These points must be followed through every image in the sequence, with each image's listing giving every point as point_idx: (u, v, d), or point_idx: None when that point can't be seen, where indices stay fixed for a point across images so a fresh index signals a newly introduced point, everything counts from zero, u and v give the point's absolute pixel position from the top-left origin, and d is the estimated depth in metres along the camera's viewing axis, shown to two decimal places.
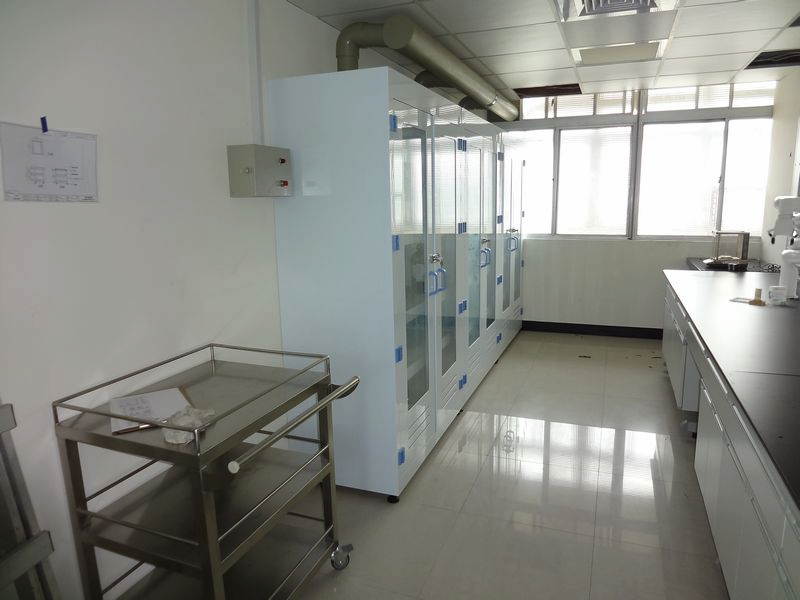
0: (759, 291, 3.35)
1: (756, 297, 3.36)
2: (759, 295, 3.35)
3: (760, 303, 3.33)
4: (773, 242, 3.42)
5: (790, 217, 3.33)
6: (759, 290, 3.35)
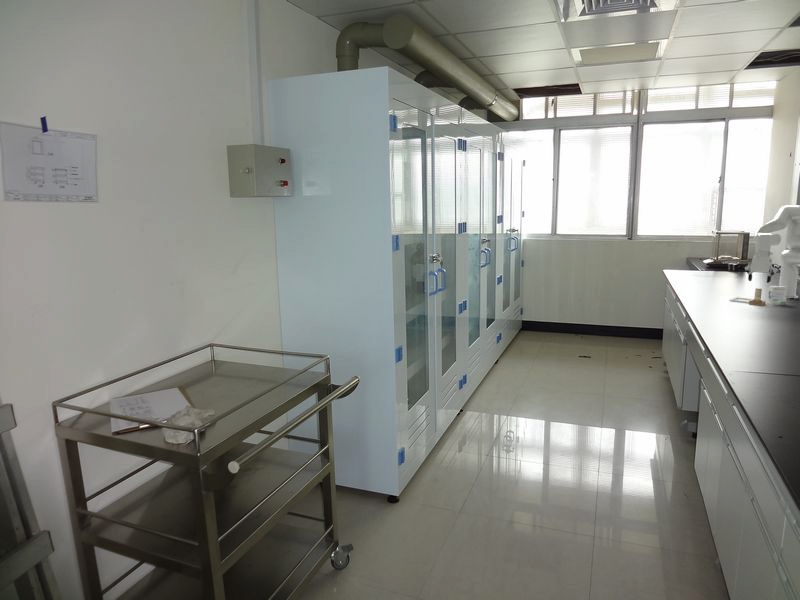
0: (759, 291, 3.35)
1: (756, 297, 3.36)
2: (759, 295, 3.35)
3: (760, 303, 3.33)
4: (750, 279, 3.37)
5: (767, 254, 3.29)
6: (759, 290, 3.35)
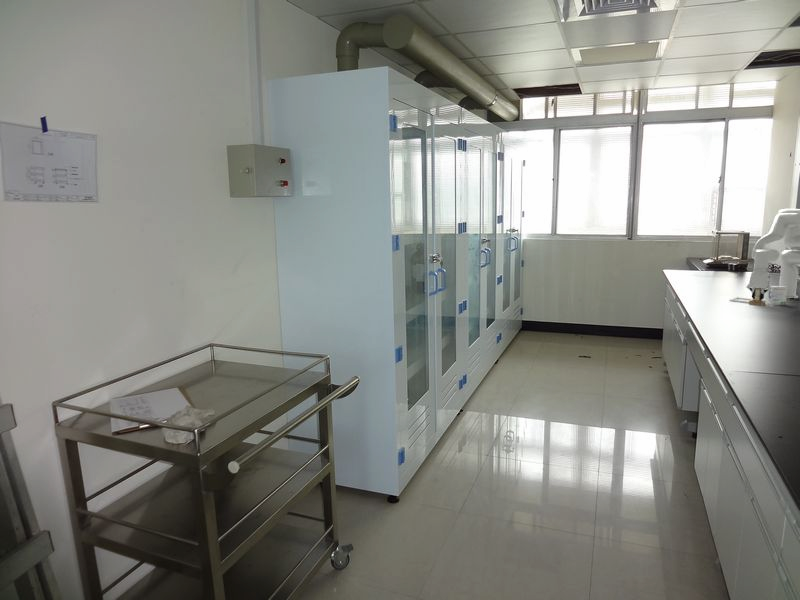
0: (759, 291, 3.35)
1: (756, 297, 3.36)
2: (759, 295, 3.35)
3: (760, 303, 3.33)
4: None
5: (765, 271, 3.30)
6: (759, 290, 3.35)
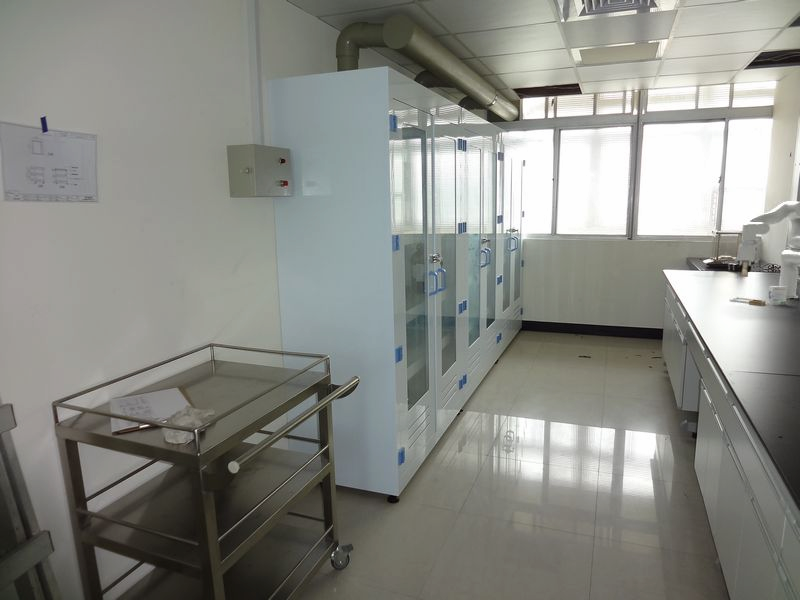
0: (746, 263, 3.43)
1: (744, 269, 3.45)
2: (746, 267, 3.44)
3: (760, 303, 3.33)
4: (741, 269, 3.46)
5: (752, 243, 3.39)
6: (746, 262, 3.43)
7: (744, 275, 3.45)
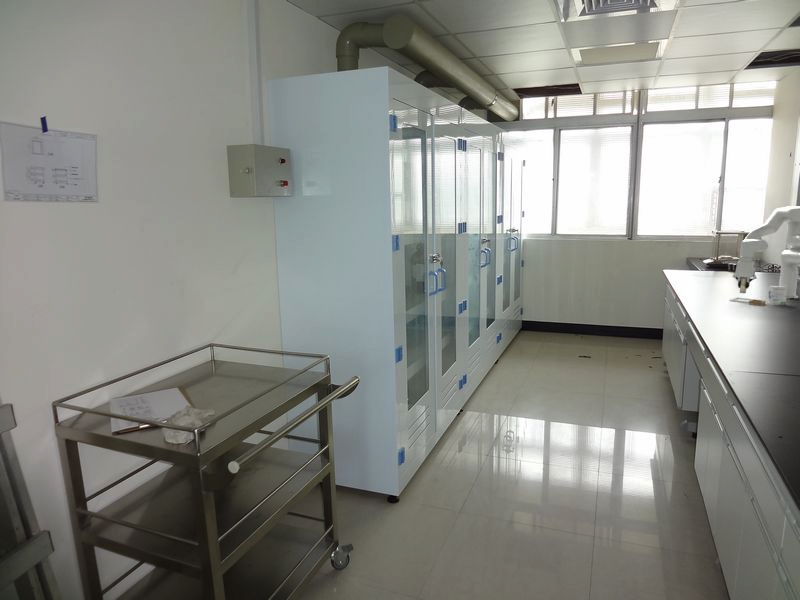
0: (745, 280, 3.45)
1: (742, 286, 3.47)
2: (745, 284, 3.46)
3: (760, 303, 3.33)
4: None
5: (751, 260, 3.41)
6: (745, 279, 3.45)
7: (742, 291, 3.47)
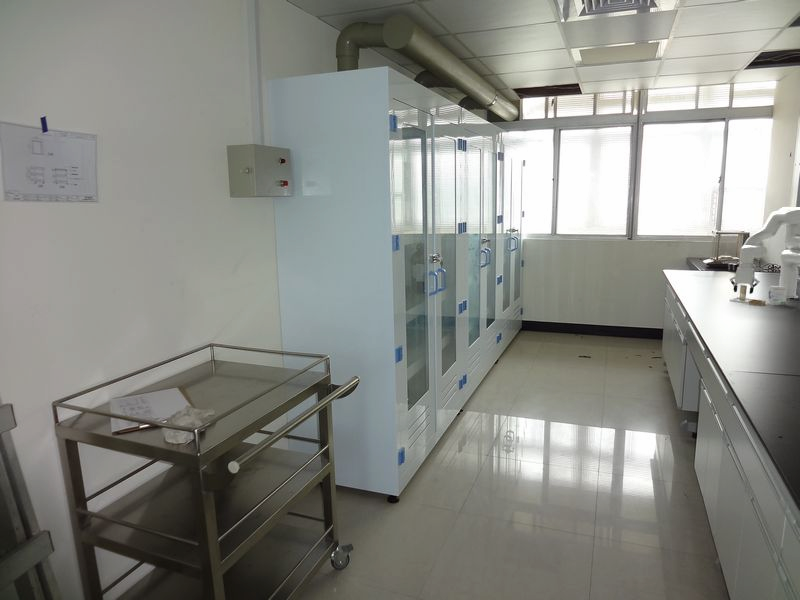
0: (744, 288, 3.46)
1: (741, 294, 3.48)
2: (744, 292, 3.47)
3: (760, 303, 3.33)
4: (735, 290, 3.50)
5: (750, 266, 3.42)
6: (744, 287, 3.46)
7: (742, 299, 3.48)
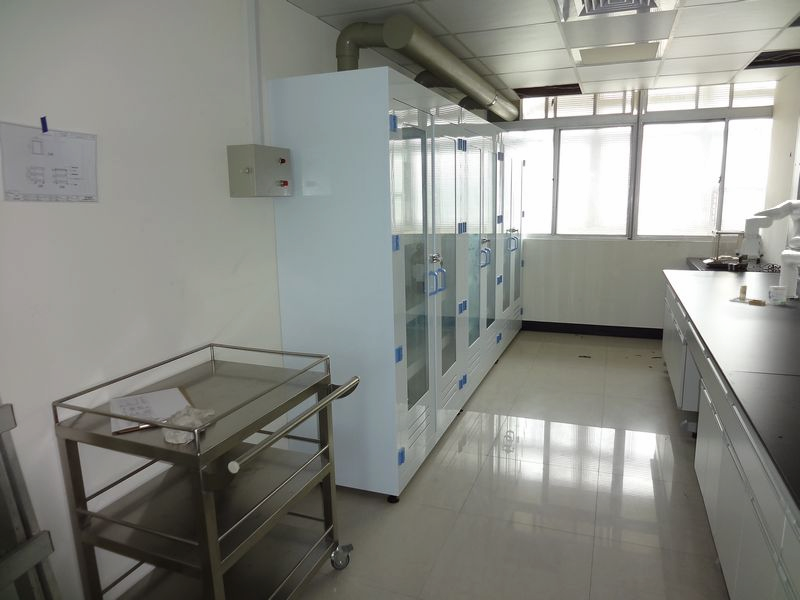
0: (744, 288, 3.46)
1: (741, 294, 3.48)
2: (744, 292, 3.47)
3: (760, 303, 3.33)
4: (740, 261, 3.48)
5: (756, 237, 3.39)
6: (744, 287, 3.46)
7: (742, 299, 3.48)
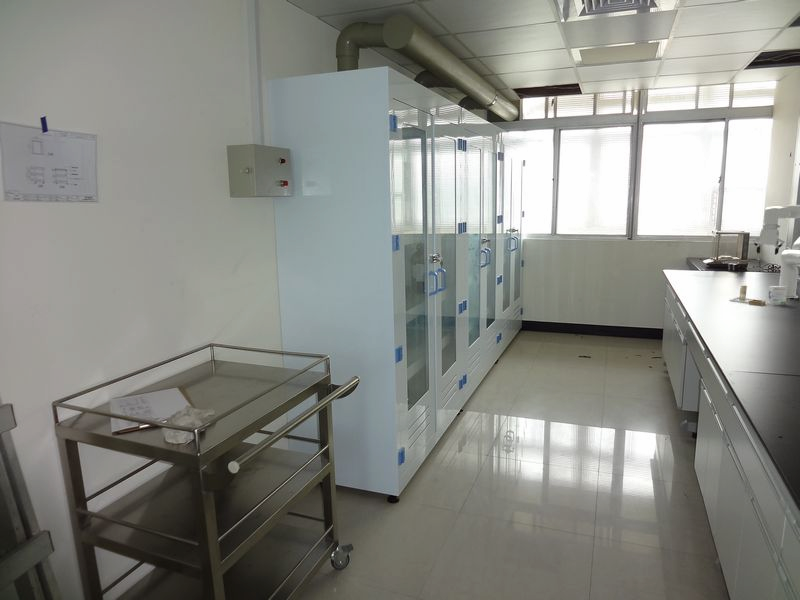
0: (744, 288, 3.46)
1: (741, 294, 3.48)
2: (744, 292, 3.47)
3: (760, 303, 3.33)
4: (758, 251, 3.51)
5: (775, 227, 3.42)
6: (744, 287, 3.46)
7: (742, 299, 3.48)
